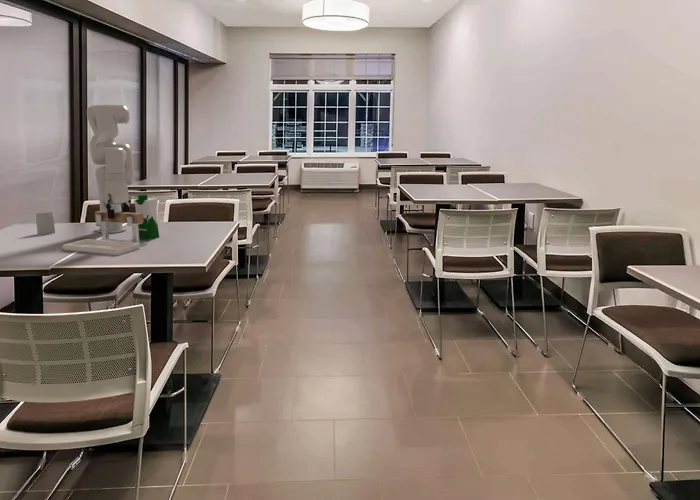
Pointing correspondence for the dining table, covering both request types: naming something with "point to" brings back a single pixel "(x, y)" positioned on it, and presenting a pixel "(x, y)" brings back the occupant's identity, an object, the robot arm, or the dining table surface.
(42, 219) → the grey block
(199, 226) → the dining table surface
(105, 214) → the walnut rail
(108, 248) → the off-white tray
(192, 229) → the dining table surface
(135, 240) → the steel stand
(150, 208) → the milk carton
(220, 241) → the dining table surface
